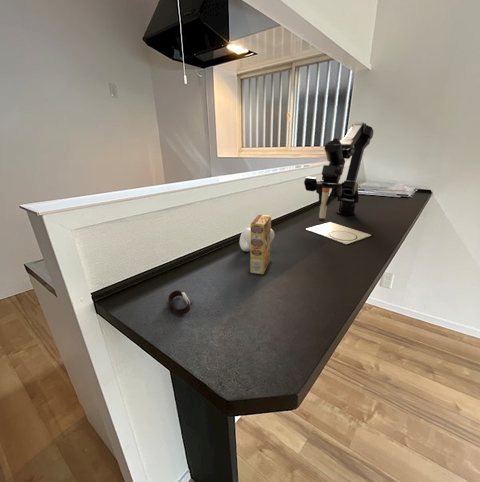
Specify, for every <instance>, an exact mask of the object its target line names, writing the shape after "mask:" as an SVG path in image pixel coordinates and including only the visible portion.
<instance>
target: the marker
mask: <svg viewBox="0 0 480 482" xmlns="http://www.w3.org/2000/svg"><path fill="white" fill-rule="evenodd" d="M330 191H331V189H329V188H323V190H322V199H321V205H319V215H318V221H319V222H325V221H326V217H327V216H326V215H327V210H328V206H326V203H327V200H328V198H329V195H330Z"/></svg>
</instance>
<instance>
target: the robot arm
mask: <svg viewBox="0 0 480 482" xmlns="http://www.w3.org/2000/svg"><path fill="white" fill-rule="evenodd" d="M373 136H374V129H373V127H372V126H370V125H367V123H366V122H353V123H352V124H351V128H350V129H349V130H348V132H347V133H346V135H345V136H344V137H343V139H340V137H333V139H332V140H330V141H328V142H327V143H326V144H324V152H325V155H326V160H327V162H329V163H328V164H327V165H326V164H324V165H322V171H321V175H322V176H321V180H317V177H311V176H307V177H305V179H304V181H303V184H304V187H305V188H304V189H305V190H306V191H307V192H315V193H316V194H318V205H319V206H321V199H322V190H323V188H329V189H330V192H329V196H328V200H327V203H326V206H327V207H328V206H329V205H330V204H331V203H332V202H333V201H334V200H335V199H337V202H339V205H338V206H339V207H338V211H336V214H339V215H343V216H347V217H348V216H351V215H354V214H356V213H355V209H356V204H359V201H360V200H359V199H360V194H359V185H358V183H357V180H358V175H359V171H360V167H361V164H362V159H363V156H364V152H365V149H366V148H367V147H368V146H369V145H370V143H371V140H372V139H373ZM346 160H350V162H349V166H348V170H347V174H346V178H345V180H344V181H343V182H341V183H340V180H341V177H342V175H343V172H344V168H345V164H346Z"/></svg>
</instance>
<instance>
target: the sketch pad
mask: <svg viewBox="0 0 480 482" xmlns="http://www.w3.org/2000/svg"><path fill="white" fill-rule="evenodd" d="M305 230H306V231H309V232H312V233H315V234H317V235H320V236H322V237H325V238H327V239H330V240H333V241H336V242H338V243H341V244H344V245H350V244H353V243H356V242H358V241H361V240H363V239H366V238H369V237H372V234H370V233H367V232H363V231H360V230H357V229H353V228H351V227H349V226H344V225H341V224H337V223H335V222H332V221H329V222H326V223H325V222H324V223H321V224H317V225H314V226H311V227H307V228H305Z"/></svg>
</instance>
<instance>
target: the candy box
mask: <svg viewBox="0 0 480 482" xmlns="http://www.w3.org/2000/svg"><path fill="white" fill-rule="evenodd" d="M250 224H251V251H250V274H258V275H264V274H265V271H266V270H267V268H268V266H269V264H270V261H271V260H270V258H271V255H270V254H271V243H270V234H271V229H272V215H267V214H258V215H257V216H256V217H255V218H254V219H253V220H252V222H251V223H250Z"/></svg>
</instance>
